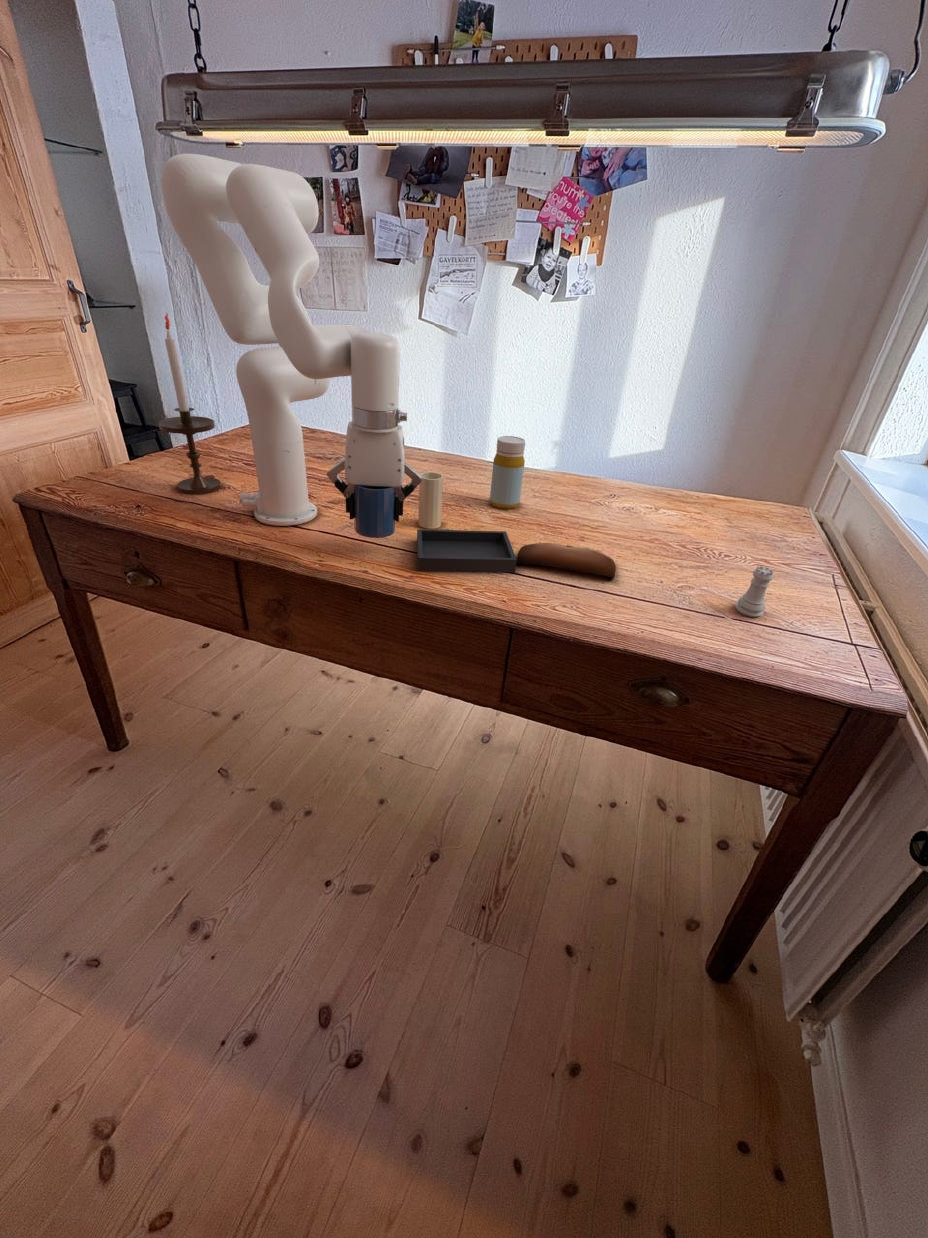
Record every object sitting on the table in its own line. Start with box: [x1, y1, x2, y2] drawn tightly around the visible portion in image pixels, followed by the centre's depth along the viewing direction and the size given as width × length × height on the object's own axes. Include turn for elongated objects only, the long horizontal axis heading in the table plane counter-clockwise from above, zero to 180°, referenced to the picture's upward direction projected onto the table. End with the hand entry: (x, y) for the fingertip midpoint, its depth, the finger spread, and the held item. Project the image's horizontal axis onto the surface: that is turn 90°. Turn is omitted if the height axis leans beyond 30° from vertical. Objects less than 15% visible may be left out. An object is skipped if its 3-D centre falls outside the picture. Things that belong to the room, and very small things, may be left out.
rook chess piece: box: [735, 565, 775, 618], centre depth 91 cm, size 4×4×8 cm
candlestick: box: [158, 312, 222, 495], centre depth 115 cm, size 11×11×35 cm
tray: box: [416, 528, 517, 573], centre depth 103 cm, size 18×13×3 cm
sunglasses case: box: [516, 542, 617, 580], centre depth 102 cm, size 18×7×7 cm
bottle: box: [489, 435, 526, 510], centre depth 124 cm, size 7×7×15 cm
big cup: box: [353, 485, 397, 539], centre depth 98 cm, size 7×7×9 cm
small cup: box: [417, 471, 444, 530], centre depth 113 cm, size 5×5×10 cm
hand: (374, 516), depth 99 cm, fingers closed on big cup, 7 cm apart
